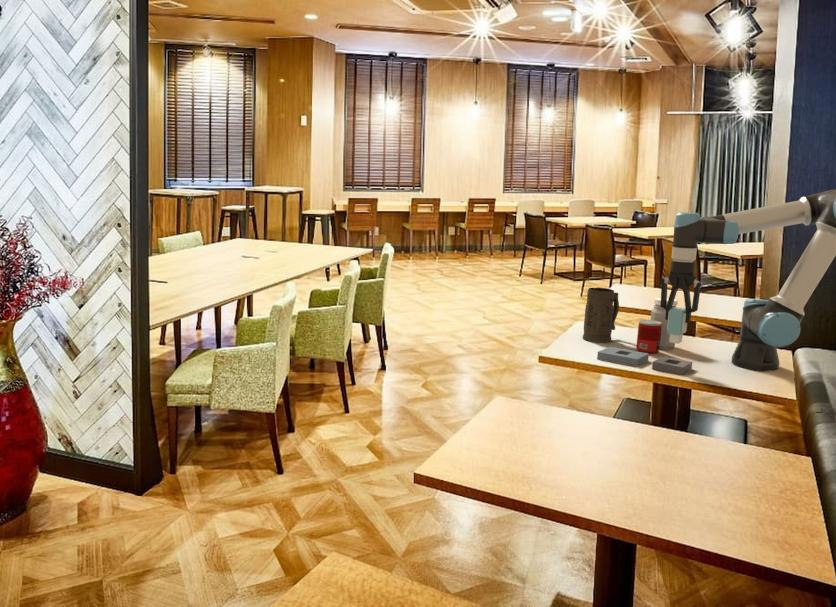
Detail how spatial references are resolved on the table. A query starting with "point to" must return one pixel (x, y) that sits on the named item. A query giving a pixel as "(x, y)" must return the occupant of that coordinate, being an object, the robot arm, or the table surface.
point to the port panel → (623, 356)
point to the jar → (659, 315)
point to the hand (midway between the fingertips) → (676, 330)
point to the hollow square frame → (672, 365)
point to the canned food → (649, 336)
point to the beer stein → (600, 314)
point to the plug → (675, 324)
